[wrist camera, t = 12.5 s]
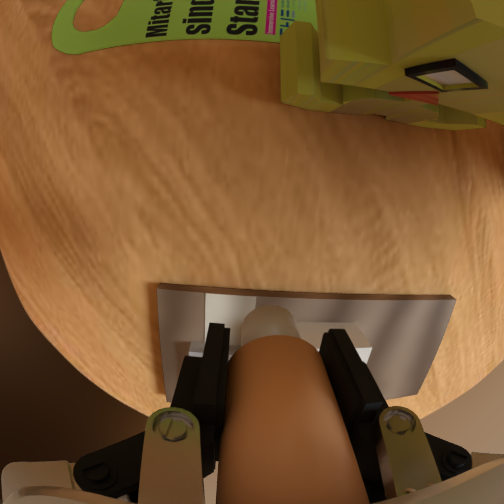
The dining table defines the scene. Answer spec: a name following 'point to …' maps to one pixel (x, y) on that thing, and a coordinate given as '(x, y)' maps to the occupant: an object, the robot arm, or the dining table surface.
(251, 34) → the door hanger
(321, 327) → the block
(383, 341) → the panel
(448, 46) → the toy
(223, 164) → the dining table surface
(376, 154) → the dining table surface
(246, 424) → the tan rounded cylinder
